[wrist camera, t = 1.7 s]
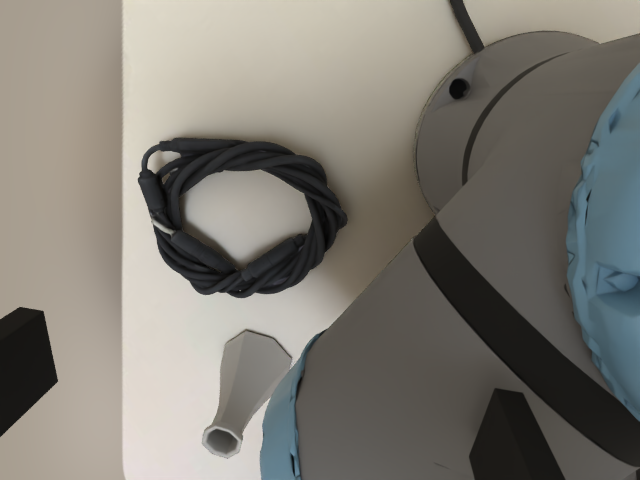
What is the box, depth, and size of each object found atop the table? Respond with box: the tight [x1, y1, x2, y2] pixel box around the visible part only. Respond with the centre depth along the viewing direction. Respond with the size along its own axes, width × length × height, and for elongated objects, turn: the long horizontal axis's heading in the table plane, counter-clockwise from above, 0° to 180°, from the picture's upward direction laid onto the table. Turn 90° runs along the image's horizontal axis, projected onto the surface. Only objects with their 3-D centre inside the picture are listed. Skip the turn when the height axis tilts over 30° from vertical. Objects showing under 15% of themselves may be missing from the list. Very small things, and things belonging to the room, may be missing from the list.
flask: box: [202, 331, 292, 459], centre depth 35 cm, size 7×7×10 cm
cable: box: [138, 138, 348, 298], centre depth 32 cm, size 17×14×4 cm
